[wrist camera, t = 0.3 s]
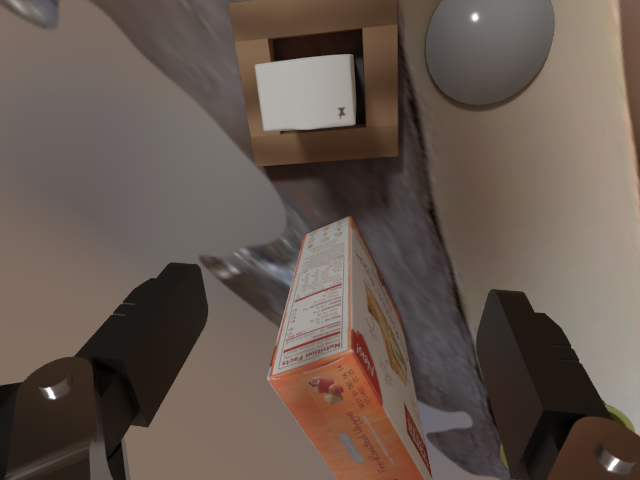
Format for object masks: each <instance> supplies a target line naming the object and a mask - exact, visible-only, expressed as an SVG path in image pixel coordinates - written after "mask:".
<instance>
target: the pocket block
mask: <svg viewBox="0 0 640 480" xmlns="http://www.w3.org/2000/svg"><path fill="white" fill-rule="evenodd" d="M228 4H229V10H230V16H231V22H232V28H233V34H234V40H235V46H236V51H237V57H238V63H239V69H240V75H241V81H242V87H243V93H244V99H245V105H246V111H247V117H248V123H249V129H250V135H251V141H252V147H253V153H254V159H255V165H256V166H270V165H284V164H298V163H312V162H325V161H339V160H353V159H367V158H381V157H394V156H398V22H397V0H253V1H244V2H236V3H228ZM355 30H362V46H363V70H364V95H365V120H366V123H361V124H355V125H352V126H342V127H331V128H319V129H312V130H289V131H276V132H265V131H264V130H263V123H262V116H261V109H260V102H259V94H258V87H257V80H256V72H255V65H256V64H262V63H269V62H276V59H275V51H274V43H273V39H282V38H291V37H300V36H309V35H318V34H328V33H337V32H346V31H355Z"/></svg>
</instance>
